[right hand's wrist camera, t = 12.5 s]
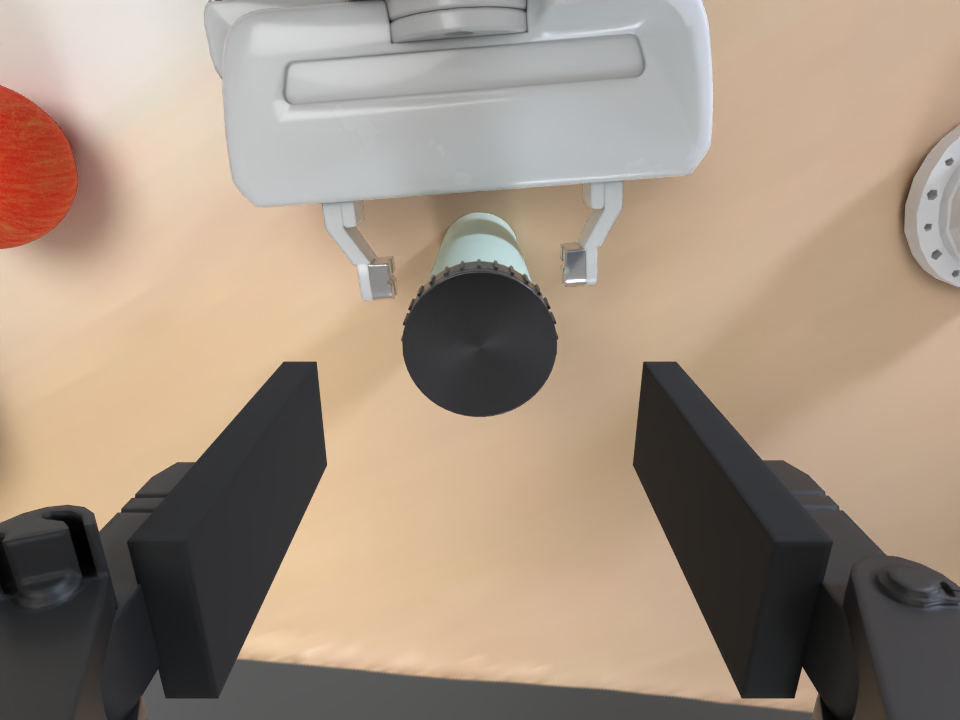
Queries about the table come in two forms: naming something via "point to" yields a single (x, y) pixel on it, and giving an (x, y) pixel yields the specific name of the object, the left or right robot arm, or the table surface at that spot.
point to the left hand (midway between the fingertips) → (479, 290)
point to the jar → (479, 243)
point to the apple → (32, 171)
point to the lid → (479, 339)
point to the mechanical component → (937, 211)
